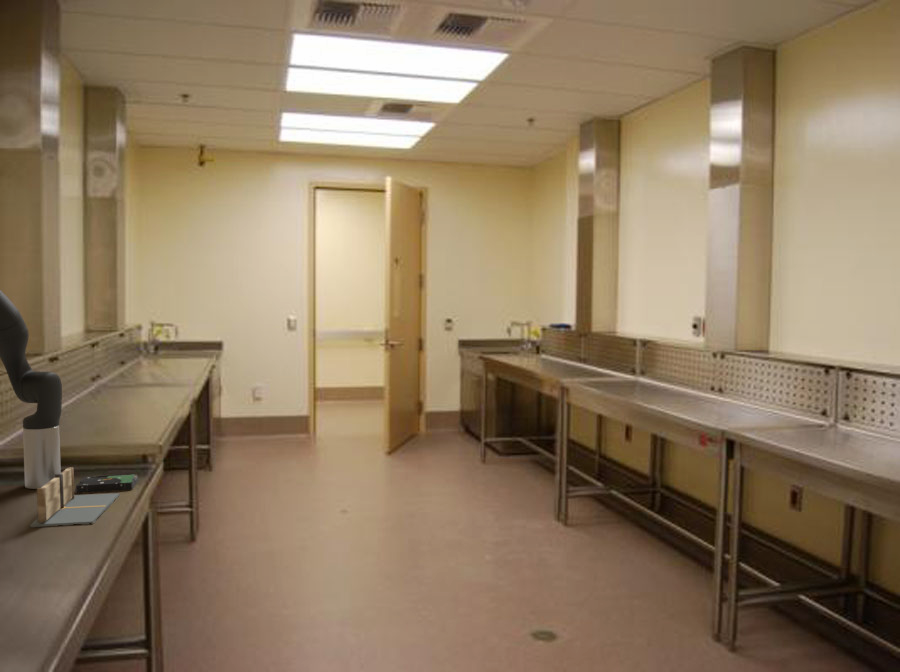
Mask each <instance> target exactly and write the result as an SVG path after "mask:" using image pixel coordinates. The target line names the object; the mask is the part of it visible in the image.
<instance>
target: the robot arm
mask: <svg viewBox="0 0 900 672" xmlns="http://www.w3.org/2000/svg"><path fill="white" fill-rule="evenodd" d="M29 333H30V332H29V330H28V326H27V324H26V321H24V318H23V316H22V314H21V312H20V310H19V309H18V307H17V306H15V304H14V303H13V302H12V301H11V299H9V297H8V296H6V294H5V293H3V291H2V290H1V289H0V360H1V362H2V364H3V367H4V368H5V371H6V374H7V376H8V379H9V382H10V384H11V386H12V390H13V391H14V394H15V396H16V397H17V398H18V400H19V401H21V402H22V403H26V404H37V405H36V411H35V412H34V413H32V414H31V415H27V416H26V417H25V416H24V417H23V419H22V434H23V435H22V436H23V437H22V438H23V468H24V487H25V488H26V489H32V490H34V489H35V490H37V489H38V488H41V487H43V486H44V485H45V484H47V483H48V482H49V481H51V480H52V479H53V478H55V474H59V473H62V471H61V470H62V468H61V441H60V440H61V439H60V436H61V435H60V419H61V417H62V403H63V384H62V380H61V377H60V376H59V375H58V374H57V373H56V372H53V371H35V370H33V368H32V367H31V365H30V363H29V361H28V359H27V357H26V351H27V346H28V342H29Z"/></svg>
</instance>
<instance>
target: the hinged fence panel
mask: <svg viewBox="0 0 900 672" xmlns="http://www.w3.org/2000/svg"><path fill="white" fill-rule="evenodd" d="M36 494H37V495H36V499H37V500H36V503H37V519H38V522H45V521H47V520H48V519H49V518H50V517H51V516H52V515H53V514H55V513H56V512H57V511H58V510H59V509H60V478H53V479H52V480H51V481H49V482H48V483H47V484H45V485H44V486H43V487H41V488H38V489H36Z"/></svg>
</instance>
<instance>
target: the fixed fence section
mask: <svg viewBox="0 0 900 672" xmlns="http://www.w3.org/2000/svg"><path fill="white" fill-rule="evenodd" d="M74 475H75V473H74V467H71V466H70V467H66V468H65V470H63V471H61V473H59V474H55V478H60V509H62V508H64V505H65V504H66V503H67V502H68V501H69V500H70V499H71V500H72V499H74V495H75V477H74Z"/></svg>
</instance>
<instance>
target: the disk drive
mask: <svg viewBox="0 0 900 672" xmlns="http://www.w3.org/2000/svg"><path fill="white" fill-rule="evenodd" d="M138 481H139V476H138V474H115V475H113V474H112V475H99V476H98V475H97V476H92V475H91V476H84V477H83V478H82V479H81V480H80V481H79V483H77V484H76V486H75V493H76V494H84V493H83V492H86V493H85V494H87V492H89V493H100V492H101V493H103V492H104V491H105V492H119V491H132V490H134V488H135V486H136V485H137V483H138Z"/></svg>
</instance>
